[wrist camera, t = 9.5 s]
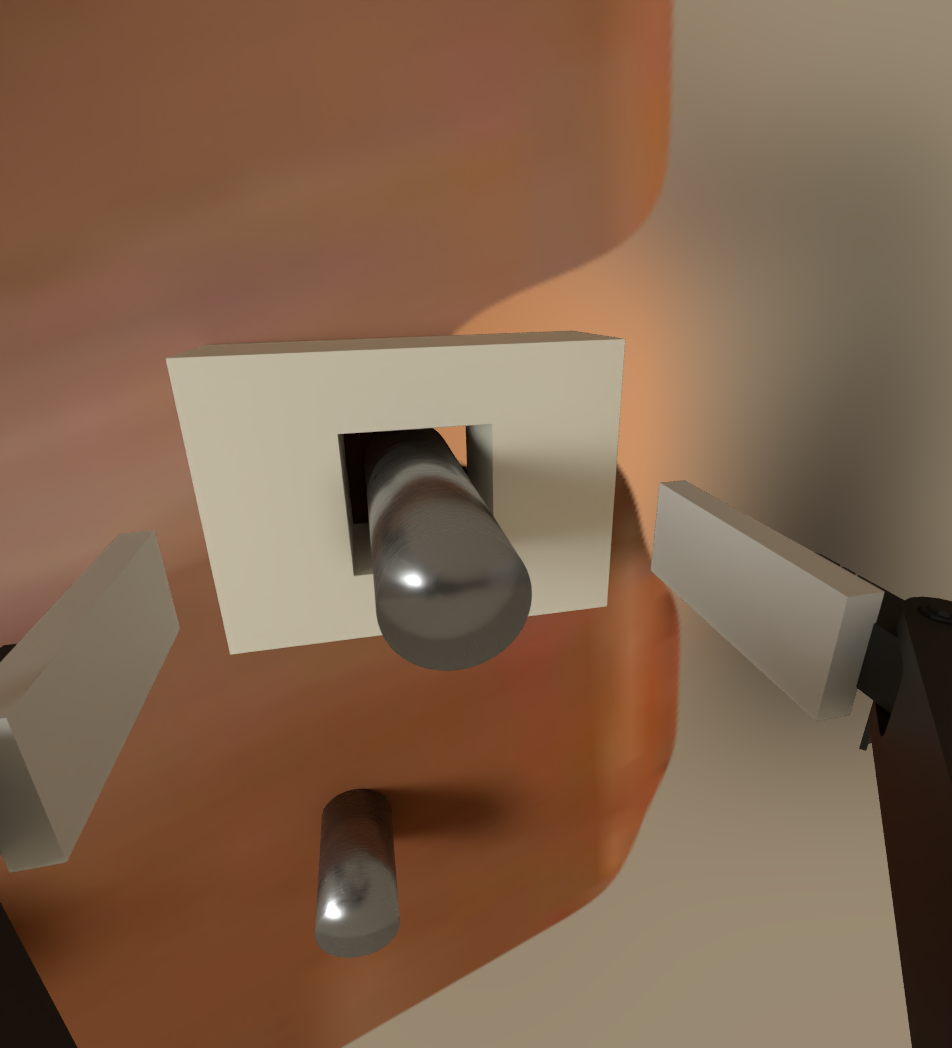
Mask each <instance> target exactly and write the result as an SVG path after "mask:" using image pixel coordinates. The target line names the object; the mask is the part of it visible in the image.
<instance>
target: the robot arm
mask: <svg viewBox="0 0 952 1048" xmlns="http://www.w3.org/2000/svg"><path fill="white" fill-rule="evenodd" d="M651 571H652V572H653V573H654V574H655V575H656V576H657V577H658V578H659V579H661V580H662V581H663V582H664V583H665V584H666V585H667V586H668V587H669V588H670V589H671V590H673V591H674V592H675V593H676V594H677V595H678V596H679V597H680V598H681V599H682V600H684V601H685V602H686V603H687V604H688V605H689V606H690V607H691V608H692V609H694V610H695V611H696V612H697V613H698V614H699V615H700V616H701V617H702V618H703V619H704V620H705V621H707V622H708V623H709V624H710V625H711V626H712V627H713V628H714V629H715V630H716V631H718V632H719V633H720V634H721V635H722V636H723V637H724V638H725V639H727V641H729V642H730V643H731V644H732V645H733V646H734V647H735V648H736V649H737V650H738V651H740V652H741V653H742V654H743V655H744V656H745V657H746V658H747V659H748V660H749V661H750V662H752V663H753V664H754V665H755V666H756V667H757V668H758V669H759V670H760V671H761V672H763V673H764V674H765V675H766V676H767V677H768V678H769V679H770V680H771V681H772V682H773V683H775V684H776V685H777V686H778V687H779V688H780V689H781V690H782V691H783V692H784V693H786V694H787V695H788V696H789V697H790V698H791V699H792V700H793V701H794V702H795V703H797V704H798V705H799V706H800V707H801V708H802V709H803V710H804V711H805V712H806V713H807V714H809V715H810V716H811V717H812V718H813V719H814V720H815V721H821V720H826V719H831V718H837V717H841V716H847V715H850V712H851V709H852V706H853V702H854V699H855V695H856V692H857V688H858V689H859V690H861V691H862V692H863V693H864V694H866V695H867V696H869V697H870V698H871V699H872V700H873V704H872V707H871V711H870V714H869V717H868V721H867V724H866V727H865V731H864V734H863V737H862V741H861V744H860V748H859V749H862V750H865V751H866V749H867V746H868V744H869V743H872V748H873V756H874V763H875V770H876V778H877V786H878V793H879V801H880V809H881V815H882V824H883V831H884V839H885V846H886V853H887V861H888V869H889V876H890V884H891V891H892V898H893V907H894V914H895V921H896V930H897V937H898V945H899V952H900V960H901V967H902V975H903V983H904V989H905V998H906V1005H907V1013H908V1020H909V1028H910V1036H911V1043H912V1048H952V601H948V600H943V599H939V598H930V597H912V598H909V599H907V600H903V599H901V598H899V597H897V596H895V595H894V594H892V593H890V592H888V591H886V590H885V589H883V588H881V587H879V586H877V585H876V584H874V583H872V582H870V581H868V580H867V579H865V578H863V577H861V576H859V575H858V576H856V575H855V573H854V572H852V571H850V570H848V569H847V568H845V567H840V565H839V564H838V563H836V562H834V561H832V560H830V559H828V558H827V557H825V556H823V555H821V554H818V553H815V552H812V551H811V550H809V549H807V548H805V547H803V546H802V545H800V544H798V543H796V542H794V541H792V540H791V539H789V538H787V537H785V536H784V535H782V534H780V533H778V532H776V531H775V530H773V529H771V528H769V527H767V526H766V525H764V524H762V523H760V522H758V521H756V520H755V519H753V518H751V517H749V516H748V515H746V514H744V513H742V512H740V511H739V510H737V509H735V508H733V507H731V506H730V505H728V504H726V503H724V502H723V501H720V500H719V499H717V498H715V497H714V496H712V495H710V494H708V493H706V492H705V491H703V490H701V489H699V488H697V487H696V486H694V485H692V484H690V483H688V482H687V481H674V482H663V483H660V486H659V496H658V506H657V515H656V524H655V534H654V543H653V553H652V562H651ZM179 630H180V627H179V623H178V619H177V616H176V612H175V608H174V604H173V600H172V596H171V592H170V588H169V584H168V580H167V577H166V573H165V569H164V565H163V561H162V557H161V553H160V549H159V545H158V541H157V537H156V534H155V530H152V531H141V532H130V533H120V534H119V535H118V536H117V537H116V538H115V539H114V540H113V541H112V542H111V543H110V544H109V545H108V547H107V548H106V549H105V550H104V551H103V552H102V553H101V554H100V555H99V556H98V557H97V558H96V560H95V561H94V562H93V563H92V564H91V565H90V566H89V567H88V568H87V569H86V570H85V571H84V572H83V574H82V575H81V576H80V577H79V578H78V579H77V580H76V581H75V582H74V583H73V584H72V585H71V587H70V588H69V589H68V590H67V591H66V592H65V593H64V594H63V595H62V596H61V597H60V598H59V599H58V601H57V602H56V603H55V604H54V605H53V606H52V607H51V608H50V609H49V610H48V611H47V612H46V614H45V615H44V616H43V617H42V618H41V619H40V620H39V621H38V622H37V623H36V624H35V625H34V626H33V628H32V629H31V630H30V631H29V632H28V633H27V634H26V635H25V636H24V637H23V638H22V639H21V641H20V642H19V643H18V644H11V645H4V646H2V647H1V648H0V853H1V855H2V857H3V859H4V861H5V863H6V865H7V868H8V870H9V872H10V873H11V872H16V871H21V870H27V869H32V868H37V867H43V866H48V865H53V864H59V863H64V862H67V860H68V858H69V856H70V854H71V852H72V850H73V848H74V846H75V844H76V842H77V840H78V838H79V836H80V834H81V832H82V830H83V827H84V825H85V823H86V821H87V819H88V817H89V815H90V813H91V811H92V809H93V807H94V805H95V803H96V801H97V799H98V797H99V795H100V792H101V790H102V788H103V786H104V784H105V782H106V780H107V778H108V776H109V774H110V772H111V770H112V768H113V766H114V764H115V762H116V760H117V757H118V755H119V753H120V751H121V749H122V747H123V745H124V743H125V741H126V739H127V737H128V735H129V733H130V731H131V729H132V727H133V725H134V722H135V720H136V718H137V716H138V714H139V712H140V710H141V708H142V706H143V704H144V702H145V700H146V698H147V696H148V694H149V692H150V690H151V687H152V685H153V683H154V681H155V679H156V677H157V675H158V673H159V671H160V669H161V667H162V665H163V663H164V661H165V659H166V657H167V655H168V652H169V650H170V648H171V646H172V644H173V642H174V640H175V638H176V636H177V634H178V632H179ZM0 1048H77V1046H76V1044H75V1042H74V1040H73V1038H72V1037H71V1035H70V1033H69V1031H68V1029H67V1027H66V1025H65V1023H64V1021H63V1020H62V1018H61V1016H60V1014H59V1012H58V1010H57V1008H56V1006H55V1005H54V1003H53V1001H52V999H51V997H50V995H49V993H48V991H47V990H46V988H45V986H44V984H43V982H42V980H41V978H40V976H39V974H38V973H37V971H36V969H35V967H34V965H33V963H32V961H31V959H30V958H29V956H28V954H27V952H26V950H25V948H24V946H23V944H22V943H21V941H20V939H19V937H18V935H17V933H16V931H15V929H14V927H13V926H12V924H11V922H10V920H9V918H8V916H7V914H6V912H5V911H4V909H3V907H2V905H1V903H0Z"/></svg>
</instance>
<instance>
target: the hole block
mask: <svg viewBox="0 0 952 1048" xmlns="http://www.w3.org/2000/svg"><path fill="white" fill-rule="evenodd" d="M624 349H625V339H621V338H615V337H609V336H603V335H596V334H589V333H582V332H577V331H554V332H527V333H504V334H503V333H501V334H476V335H449V336H423V337H398V338H372V339H346V340H320V341H294V342H268V343H243V344H217V345H205V346H202V347H198V348H195V349H192V350H189V351H186V352H183V353H180V354H177V355H174V356H171V357H168V358H166V362H167V366H168V371H169V375H170V380H171V385H172V389H173V394H174V398H175V403H176V408H177V412H178V417H179V421H180V426H181V431H182V435H183V440H184V444H185V449H186V453H187V458H188V463H189V467H190V472H191V476H192V481H193V486H194V490H195V495H196V499H197V504H198V508H199V513H200V518H201V522H202V527H203V531H204V536H205V541H206V545H207V550H208V554H209V559H210V564H211V568H212V573H213V577H214V582H215V586H216V591H217V596H218V600H219V605H220V609H221V614H222V619H223V623H224V628H225V632H226V637H227V641H228V646H229V651H230V654H237V653H245V652H253V651H261V650H268V649H276V648H284V647H292V646H300V645H307V644H315V643H323V642H331V641H339V640H346V639H354V638H362V637H370V636H378V635H382V633H381V631H380V628H379V625H378V621H377V616H376V605H375V592H374V579H373V567H372V554H371V541H370V528H369V523H360V524H353V516H352V507H351V498H350V489H349V480H348V471H347V462H346V453H345V444H344V436H343V434H347V433H362V432H377V431H392V430H407V429H422V428H437V427H452V426H466V446H467V476H468V478H469V479H470V481H471V482H472V484H473V485H474V487H475V488H476V490H477V492H478V493H479V495H480V496H481V498H482V499H483V501H484V502H485V504H486V505H487V507H488V509H489V510H490V512H491V513H492V515H493V516H494V518H495V519H496V521H497V523H498V524H499V526H500V527H501V529H502V530H503V532H504V533H505V535H506V537H507V538H508V540H509V541H510V543H511V544H512V546H513V547H514V549H515V551H516V552H517V554H518V555H519V557H520V558H521V560H522V561H523V563H524V565H525V567H526V569H527V571H528V574H529V577H530V581H531V586H532V601H531V607H530V612H529V615H528V616H534V615H541V614H549V613H557V612H565V611H573V610H580V609H588V608H596V607H604V606H607V595H608V581H609V566H610V552H611V538H612V523H613V509H614V494H615V480H616V466H617V450H618V437H619V423H620V422H619V421H620V408H621V394H622V380H623V365H624V351H625V350H624Z"/></svg>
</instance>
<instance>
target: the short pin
mask: <svg viewBox="0 0 952 1048" xmlns="http://www.w3.org/2000/svg"><path fill="white" fill-rule="evenodd" d="M399 925H400V919H399V906H398V893H397V880H396V867H395V854H394V841H393V828H392V815H391V806H390V804H389V802H388V800H387V799H386V798H385V797H384V796H383V795H381V794H380V793H378V792H375V791H372V790H367V789H356V790H350V791H347V792H344V793H342V794H339V795H338V796H336V797H335V798H333V799H332V800H331V801H330V802H329V803H328V804H327V805H326V807H325V808H324V811H323V814H322V823H321V841H320V858H319V875H318V893H317V910H316V927H315V939H316V942H317V944H318V946H319V947H320V948H321V949H322V950H323V951H325V952H326V953H328V954H331V955H334V956H337V957H345V958H352V957H360V956H364V955H368V954H371V953H373V952H375V951H378V950H379V949H381V948H383V947H384V946H386V945H387V944H388V943H389V942H390V941H391V940H392V939H393V938H394V937H395V935H396V933H397V932H398V929H399Z"/></svg>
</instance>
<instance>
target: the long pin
mask: <svg viewBox="0 0 952 1048" xmlns="http://www.w3.org/2000/svg"><path fill="white" fill-rule="evenodd" d="M365 477H366V490H367V503H368V516H369V528H370V541H371V554H372V567H373V579H374V592H375V605H376V616H377V621H378V625H379V628H380V631H381V633H382V635H383V637H384V639H385V640H386V641H387V643H388V644H389V646H390V647H391V648H392V649H393V650H394V651H395V652H396V653H397V654H399V655H400V656H401V657H403V658H404V659H406V660H407V661H409V662H411V663H413V664H415V665H418V666H420V667H424V668H428V669H433V670H444V671H450V670H460V669H465V668H470V667H473V666H476V665H479V664H481V663H483V662H486V661H488V660H489V659H491V658H493V657H495V656H496V655H498V654H499V653H500V652H502V651H503V650H504V649H505V648H506V647H508V646H509V645H510V644H511V643H512V641H513V640H514V639H515V638H516V637H517V635H518V634H519V633H520V631H521V630H522V628H523V626H524V624H525V622H526V620H527V617H528V615H529V612H530V607H531V601H532V586H531V581H530V577H529V574H528V571H527V569H526V567H525V565H524V563H523V561H522V560H521V558H520V557H519V555H518V554H517V552H516V551H515V549H514V547H513V546H512V544H511V543H510V541H509V540H508V538H507V537H506V535H505V533H504V532H503V530H502V529H501V527H500V526H499V524H498V523H497V521H496V519H495V518H494V516H493V515H492V513H491V512H490V510H489V509H488V507H487V505H486V504H485V502H484V501H483V499H482V498H481V496H480V495H479V493H478V492H477V490H476V488H475V487H474V485H473V484H472V482H471V481H470V479H469V478H468V476H467V474H466V473H465V471H464V470H463V468H462V467H461V465H460V464H459V462H458V460H457V459H456V457H455V456H454V454H453V453H452V451H451V450H450V448H449V446H448V445H447V443H446V442H445V440H444V439H443V438H442V436H441V435H440V434H439V433H438V432H437V431H436V430H434V429H433V428H422V429H407V430H392V431H379V432H378V433H377V434H376V435H375V436H374V437H373V439H372V440H371V442H370V444H369V445H368V448H367V450H366V454H365Z"/></svg>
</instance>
